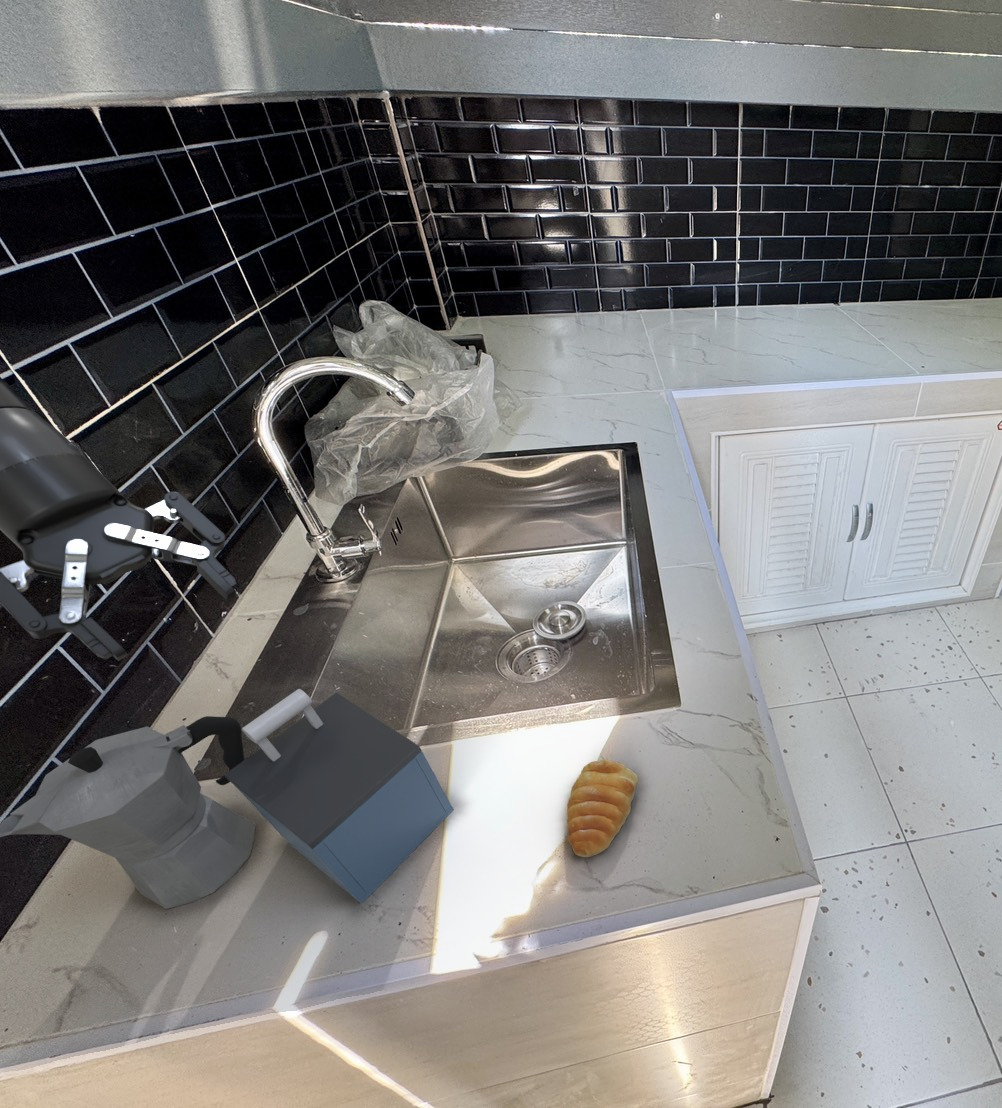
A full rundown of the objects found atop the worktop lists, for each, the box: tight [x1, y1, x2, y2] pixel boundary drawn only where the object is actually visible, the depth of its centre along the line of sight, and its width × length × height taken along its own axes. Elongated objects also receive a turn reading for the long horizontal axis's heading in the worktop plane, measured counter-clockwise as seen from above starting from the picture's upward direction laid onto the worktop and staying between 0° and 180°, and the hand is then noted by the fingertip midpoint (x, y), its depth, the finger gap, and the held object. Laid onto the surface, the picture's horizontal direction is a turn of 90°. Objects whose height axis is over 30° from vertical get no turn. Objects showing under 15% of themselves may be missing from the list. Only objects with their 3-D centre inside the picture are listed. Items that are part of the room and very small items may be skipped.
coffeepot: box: [0, 715, 256, 910], centre depth 54 cm, size 15×9×18 cm, turn 136°
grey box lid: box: [223, 688, 423, 849], centre depth 53 cm, size 12×11×6 cm
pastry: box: [566, 759, 639, 858], centre depth 62 cm, size 9×7×4 cm
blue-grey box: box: [233, 750, 455, 905], centre depth 58 cm, size 12×11×11 cm
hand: (179, 624), depth 53 cm, fingers open, 8 cm apart
